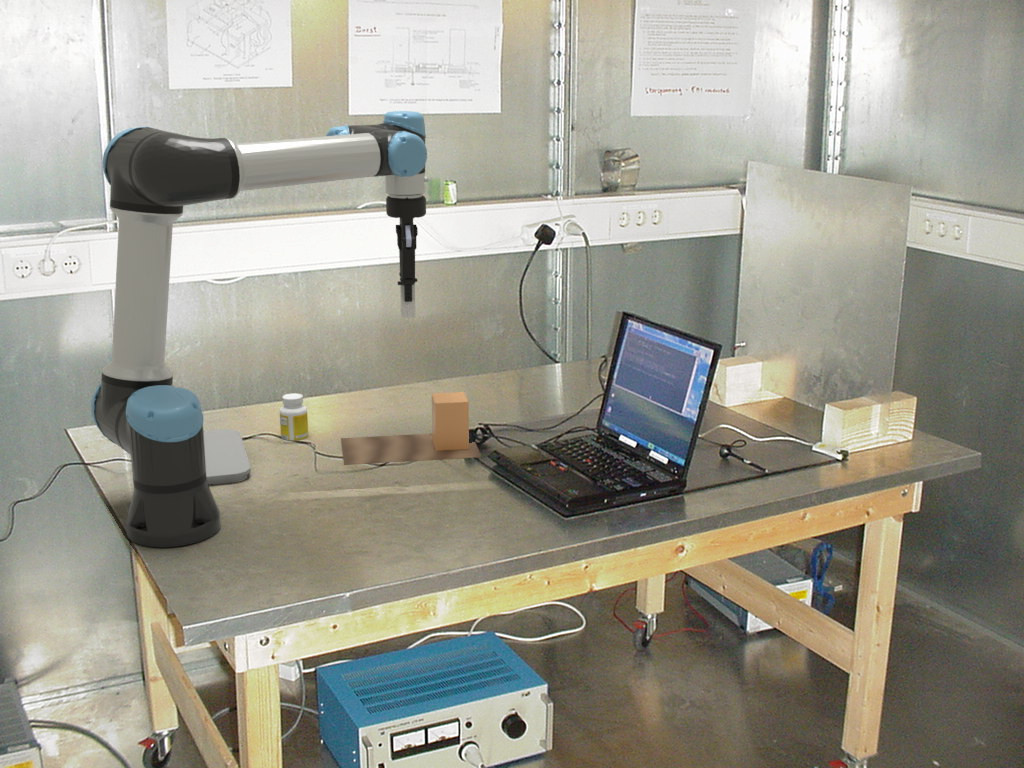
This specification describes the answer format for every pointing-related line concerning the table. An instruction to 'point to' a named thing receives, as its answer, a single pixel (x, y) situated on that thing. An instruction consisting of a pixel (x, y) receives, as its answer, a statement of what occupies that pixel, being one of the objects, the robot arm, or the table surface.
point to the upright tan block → (450, 421)
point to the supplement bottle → (293, 418)
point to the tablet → (225, 456)
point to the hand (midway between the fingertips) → (408, 316)
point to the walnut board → (399, 449)
